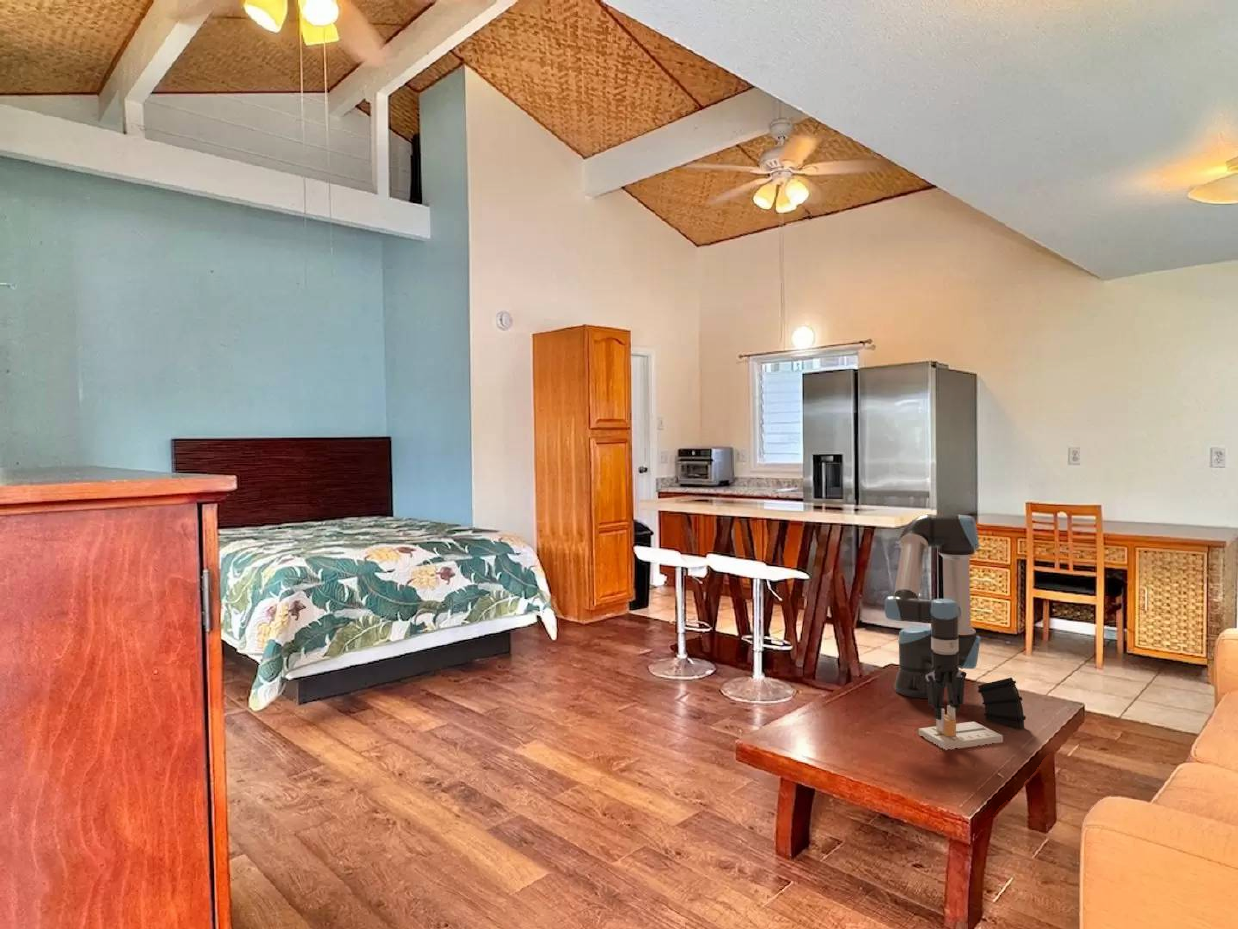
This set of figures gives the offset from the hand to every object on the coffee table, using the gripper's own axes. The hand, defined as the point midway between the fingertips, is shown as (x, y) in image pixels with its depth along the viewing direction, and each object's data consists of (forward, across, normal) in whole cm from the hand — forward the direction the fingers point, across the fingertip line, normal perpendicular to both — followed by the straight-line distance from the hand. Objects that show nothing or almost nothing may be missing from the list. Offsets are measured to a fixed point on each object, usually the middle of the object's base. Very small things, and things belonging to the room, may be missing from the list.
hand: (946, 728), depth 219 cm
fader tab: (+1, 0, 0) cm, 1 cm away
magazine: (+4, +26, +7) cm, 27 cm away
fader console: (+4, +5, 0) cm, 6 cm away
